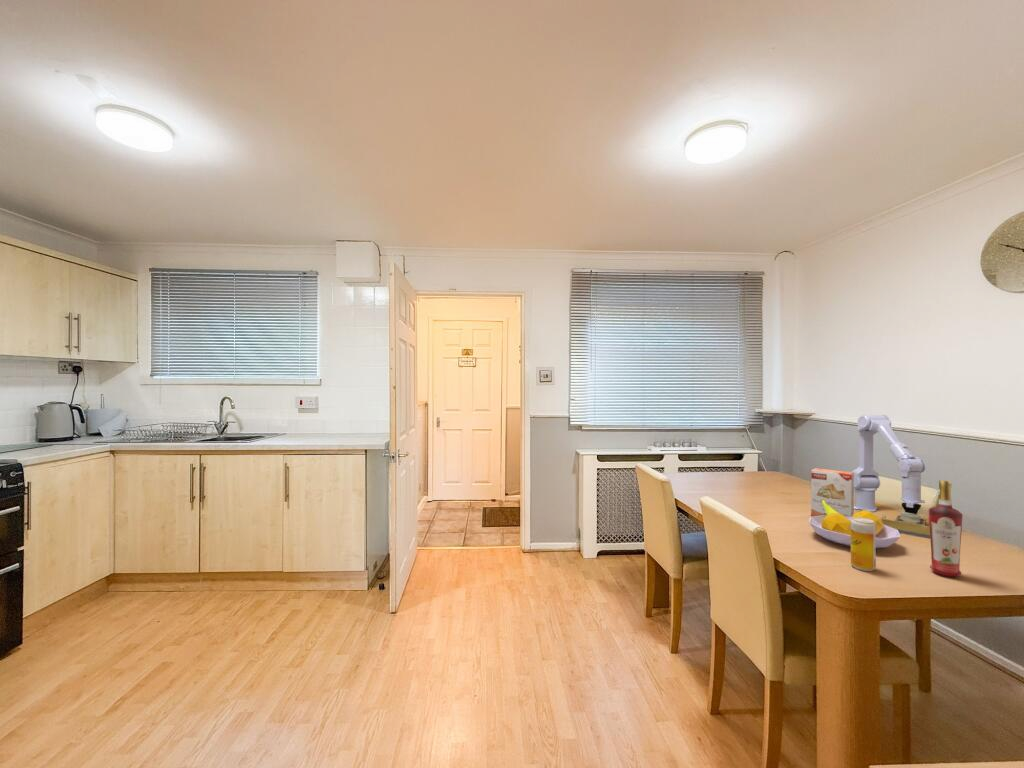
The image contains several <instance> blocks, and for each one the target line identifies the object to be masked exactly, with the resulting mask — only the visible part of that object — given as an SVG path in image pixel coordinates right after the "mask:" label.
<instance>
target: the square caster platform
mask: <svg viewBox="0 0 1024 768" xmlns="http://www.w3.org/2000/svg"><path fill="white" fill-rule="evenodd" d="M921 517H922V516H921V514H918V513H917V514H913V513H906V512H905V511H901V512H900V514H898V515H897V516H896V518H895V520H894V521H900V522H906V523H912V524H918V525H924V526H927V519H924V518H921Z"/></svg>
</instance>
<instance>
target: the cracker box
mask: <svg viewBox="0 0 1024 768" xmlns="http://www.w3.org/2000/svg"><path fill="white" fill-rule="evenodd" d="M810 477H811V481H810V483H811V485H810V486H811V487H810V488H811V489H810V490H811V492H810V493H811V496H810V499H811V501H810V504H811V505H810V513H811V514H810V517H814V516H822V515H827V514H826V512H825V509H824V506H823V503H822V500H825V502H826V504H827V505H829V506H831V507H832V508H833V509H835V510H836V511H838V512H839V513H840V514H842V515H843V516H845V517H852V516H853V514H855V512H854V510H855V509H854V505H855V488H854V473H852V471H842V470H835V469H826V468H825V469H824V468H820V467H819V468H817V467H814V468H812V469H811V476H810Z"/></svg>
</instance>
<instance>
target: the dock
mask: <svg viewBox="0 0 1024 768" xmlns="http://www.w3.org/2000/svg"><path fill="white" fill-rule="evenodd" d="M880 518H881V519H882V523H883V524H884V525H886V526H889V527H891V528H894V529H896V530H898V532H899V534H904V535H908V536H914V537H920V538H925V539H930V540H931V538H930V527H929V525H926V526H924V525H918V524H912V523H906V522H900V521H895V520H892V519H887V515H885V514H884V515H882V516H881V517H880Z"/></svg>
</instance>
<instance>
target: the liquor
mask: <svg viewBox="0 0 1024 768" xmlns="http://www.w3.org/2000/svg"><path fill="white" fill-rule="evenodd" d="M938 486H939V487H938V489H939V497H938V505H936V506H932V507H930V508H928V524H929V525H928V526H929V527H930V538H931V539H930V538H929V539H930V553H931V554H930V555H931V564H930V566H929V568H930V569H931V570H932V571H933V572H934V573H935V574H937V575H938V576H941V577H945V578H957V577H958V576H961V575H962V572H961V570H960V566H961V565H960V562H961V560H960V559H961V540H962V531H963V530H962V529H963V513H962V512H961V511H960V510H957V509H956V508H953V504H952V496H951V495H952V494H951V491H952V481H949V480H948V481H947V480H938Z"/></svg>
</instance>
